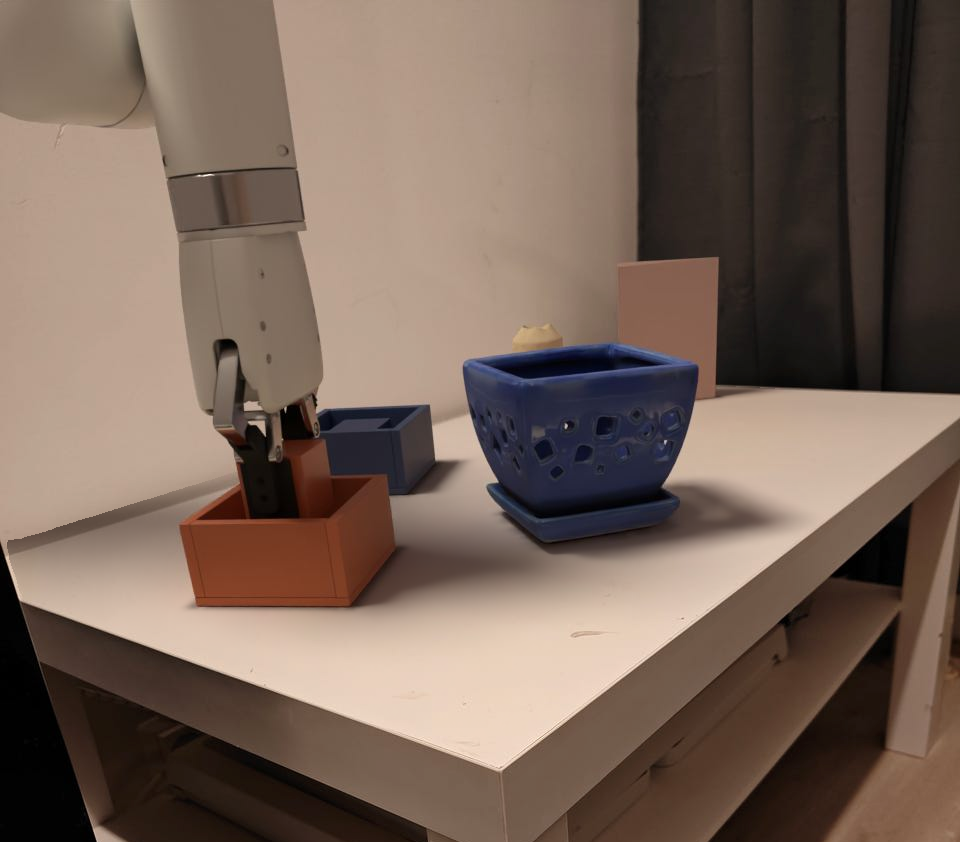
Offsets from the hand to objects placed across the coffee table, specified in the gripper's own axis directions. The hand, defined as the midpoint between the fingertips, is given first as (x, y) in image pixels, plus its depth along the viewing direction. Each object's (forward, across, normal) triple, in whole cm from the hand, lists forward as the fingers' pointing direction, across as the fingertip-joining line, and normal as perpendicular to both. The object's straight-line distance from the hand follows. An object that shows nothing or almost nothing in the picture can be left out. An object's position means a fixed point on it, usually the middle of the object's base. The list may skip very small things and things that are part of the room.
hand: (290, 506), depth 62 cm
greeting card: (+5, -54, +23) cm, 59 cm away
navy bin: (+5, -24, -3) cm, 25 cm away
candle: (+5, -48, +10) cm, 50 cm away
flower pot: (+5, -12, +18) cm, 22 cm away
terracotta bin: (+5, 0, 0) cm, 5 cm away
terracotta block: (+1, 0, 0) cm, 1 cm away
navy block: (+4, -24, -3) cm, 25 cm away
